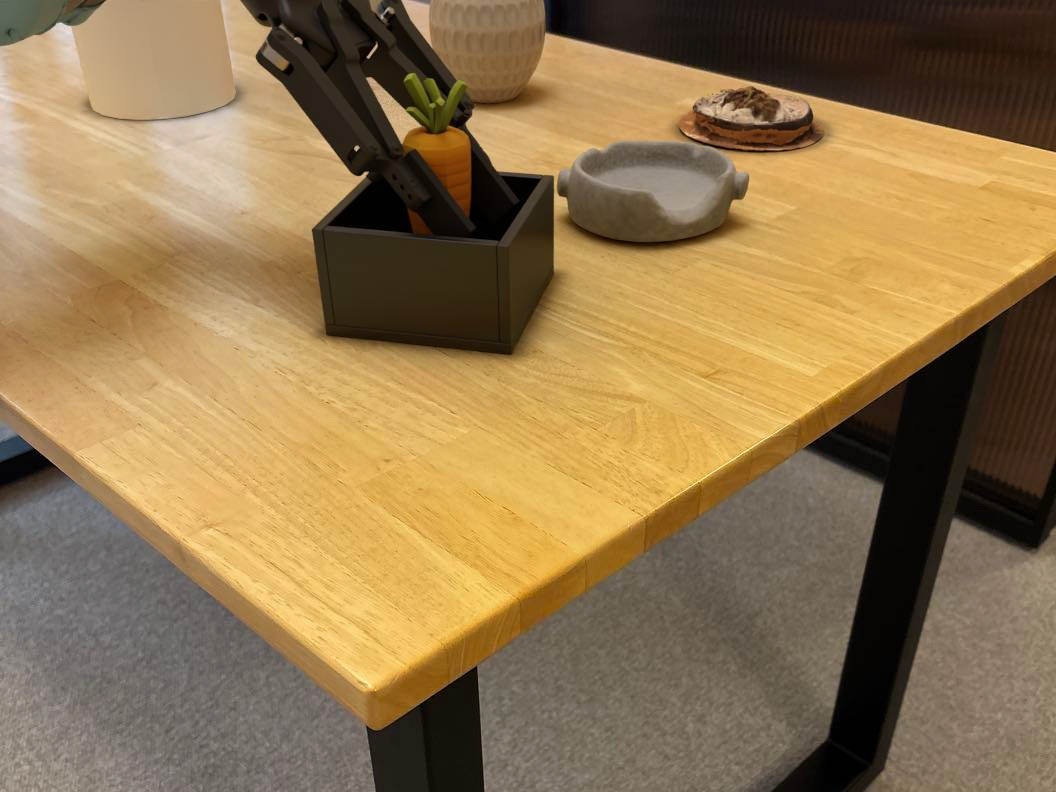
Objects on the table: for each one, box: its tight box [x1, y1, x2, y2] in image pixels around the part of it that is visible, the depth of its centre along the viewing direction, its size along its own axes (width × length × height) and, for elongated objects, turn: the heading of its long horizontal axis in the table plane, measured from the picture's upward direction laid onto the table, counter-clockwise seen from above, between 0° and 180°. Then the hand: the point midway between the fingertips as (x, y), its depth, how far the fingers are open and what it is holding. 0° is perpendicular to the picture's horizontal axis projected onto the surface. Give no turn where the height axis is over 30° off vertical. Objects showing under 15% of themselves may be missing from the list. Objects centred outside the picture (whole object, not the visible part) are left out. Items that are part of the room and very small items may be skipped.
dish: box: [556, 140, 750, 243], centre depth 93 cm, size 14×14×5 cm
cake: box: [678, 85, 825, 152], centre depth 112 cm, size 15×15×4 cm
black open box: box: [311, 170, 555, 355], centre depth 78 cm, size 14×14×8 cm
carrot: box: [401, 73, 471, 235], centre depth 75 cm, size 5×5×15 cm
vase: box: [428, 0, 547, 104], centre depth 119 cm, size 13×13×17 cm
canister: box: [70, 0, 237, 121], centre depth 117 cm, size 16×16×20 cm
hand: (484, 226), depth 75 cm, fingers closed on carrot, 5 cm apart
